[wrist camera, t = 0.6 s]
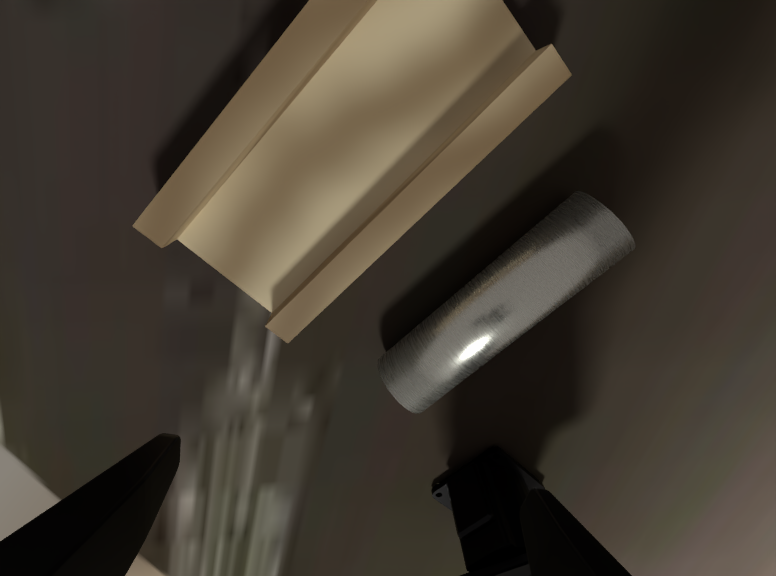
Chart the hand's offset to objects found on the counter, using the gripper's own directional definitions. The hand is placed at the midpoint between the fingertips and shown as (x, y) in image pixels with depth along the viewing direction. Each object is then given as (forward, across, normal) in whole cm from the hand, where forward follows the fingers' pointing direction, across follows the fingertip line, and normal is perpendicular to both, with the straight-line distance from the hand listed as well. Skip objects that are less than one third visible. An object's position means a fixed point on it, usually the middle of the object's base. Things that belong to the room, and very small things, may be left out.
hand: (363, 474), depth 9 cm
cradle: (+13, +3, -7) cm, 15 cm away
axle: (+13, -7, -1) cm, 15 cm away
